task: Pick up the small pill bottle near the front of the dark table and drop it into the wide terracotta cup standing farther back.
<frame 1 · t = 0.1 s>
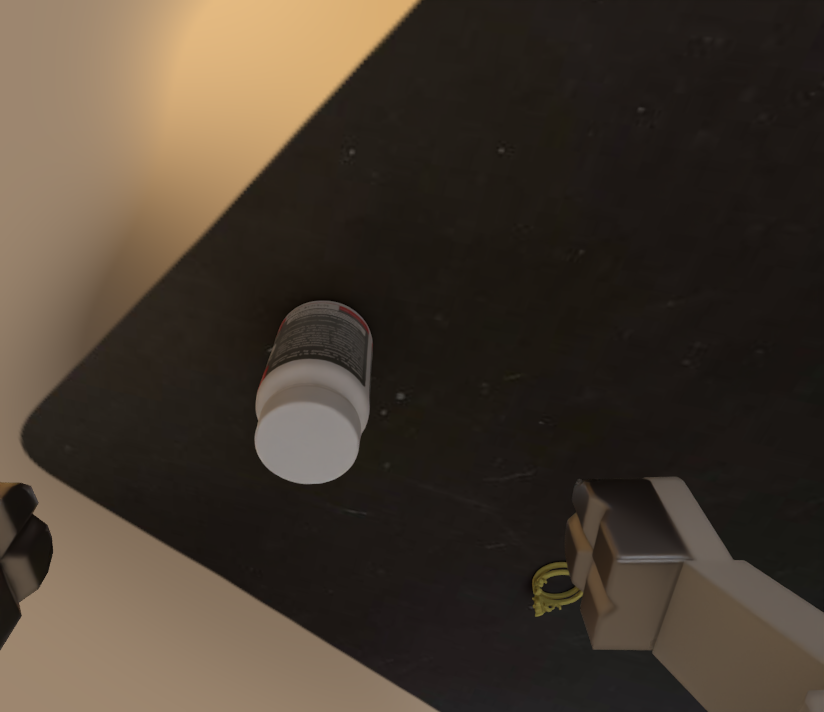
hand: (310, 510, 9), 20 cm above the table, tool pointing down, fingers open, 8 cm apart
pill bottle: (326, 338, 30), on the table
ring: (553, 578, 40), on the table
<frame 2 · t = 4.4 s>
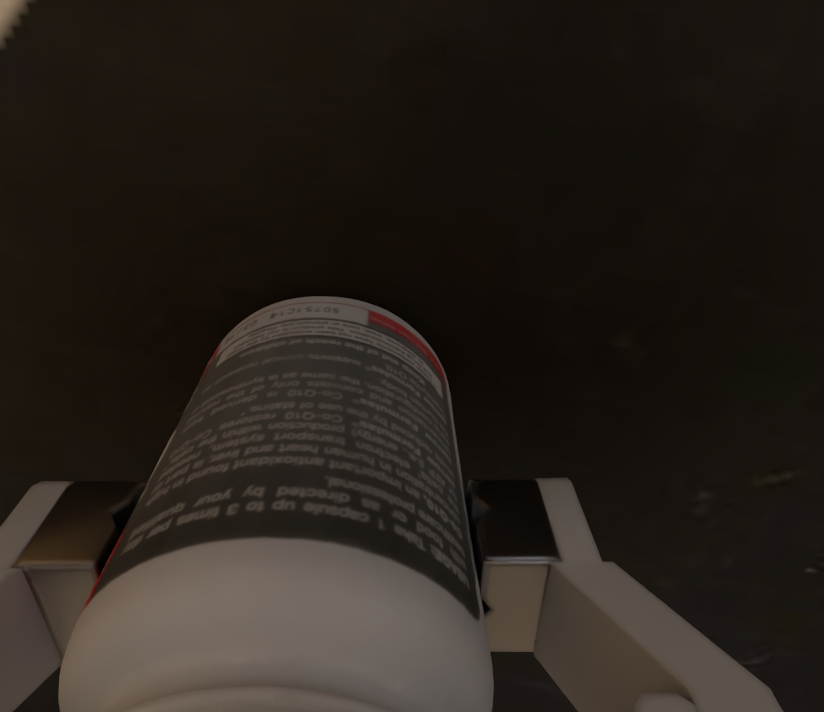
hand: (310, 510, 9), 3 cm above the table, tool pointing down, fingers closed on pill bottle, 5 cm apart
pill bottle: (331, 393, 12), on the table, touching gripper
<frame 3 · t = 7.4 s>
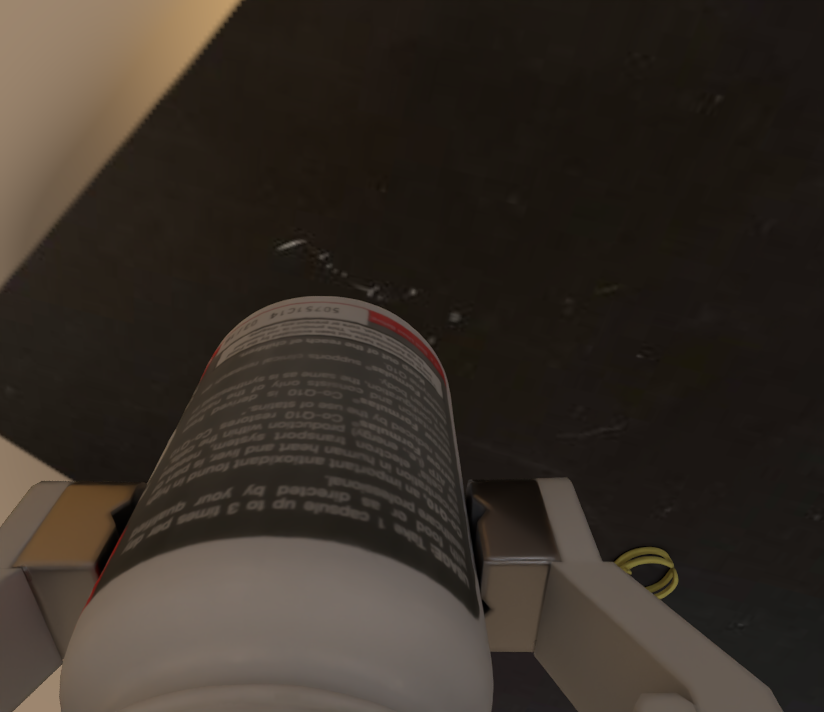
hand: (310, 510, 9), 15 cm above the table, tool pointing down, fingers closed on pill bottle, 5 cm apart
pill bottle: (331, 393, 12), point 11 cm above the table, touching gripper
ring: (635, 568, 31), on the table
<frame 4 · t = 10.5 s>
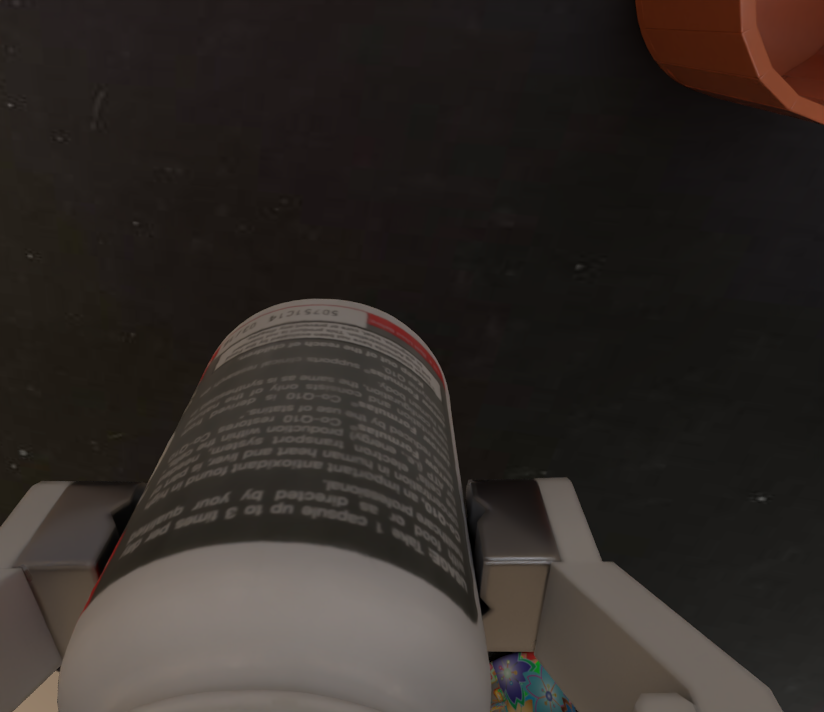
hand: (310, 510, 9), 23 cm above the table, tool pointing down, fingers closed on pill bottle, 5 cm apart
mug: (511, 666, 49), on the table
pill bottle: (330, 395, 12), point 20 cm above the table, touching gripper
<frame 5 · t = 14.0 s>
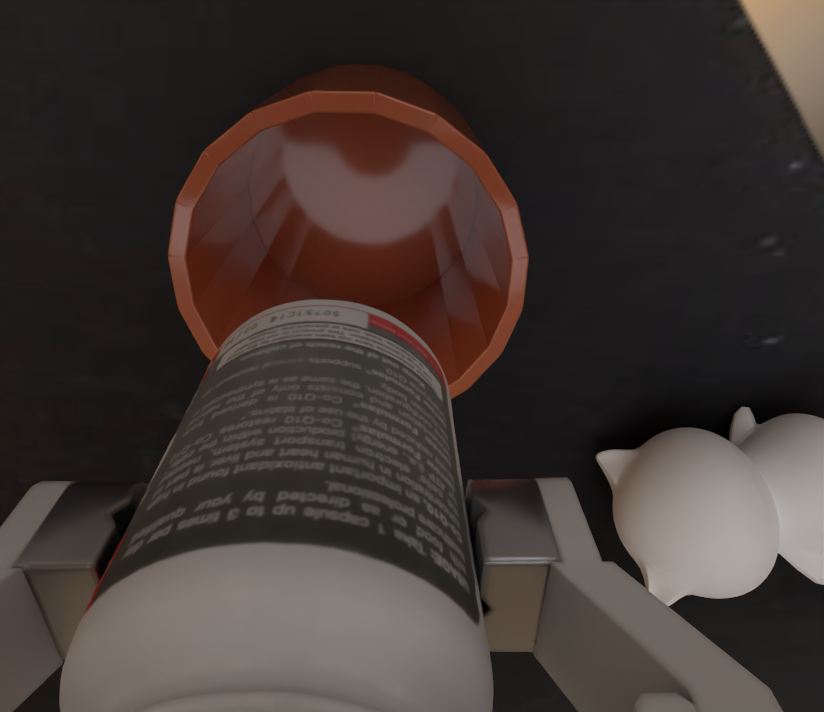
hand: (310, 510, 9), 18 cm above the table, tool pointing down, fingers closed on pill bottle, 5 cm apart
cup: (364, 197, 25), on the table
pill bottle: (331, 395, 12), point 15 cm above the table, touching gripper
cat figurine: (704, 458, 32), on the table
when the fingers open (10 cm above the table, at t = 16.8 s): pill bottle drops 6 cm, resting on cup.
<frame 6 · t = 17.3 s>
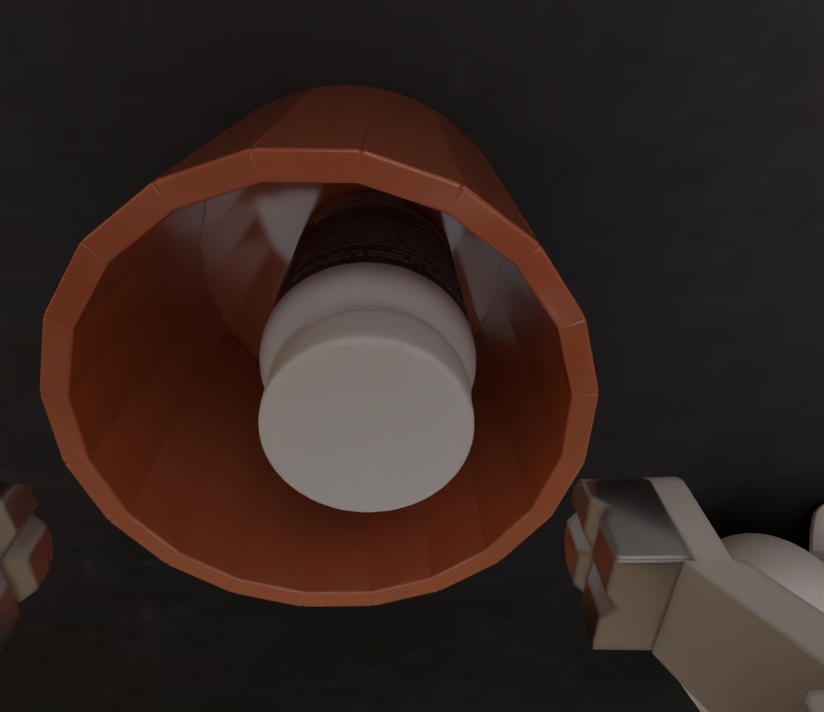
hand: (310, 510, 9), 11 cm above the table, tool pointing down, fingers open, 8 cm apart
cup: (353, 257, 19), on the table
pill bottle: (374, 264, 18), point 1 cm above the table, touching cup
cat figurine: (771, 558, 27), on the table
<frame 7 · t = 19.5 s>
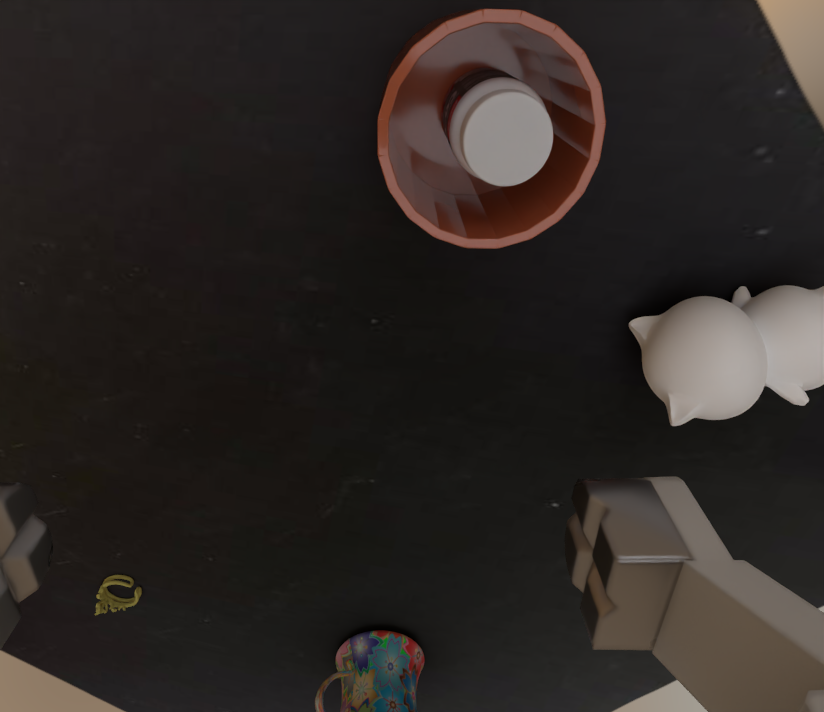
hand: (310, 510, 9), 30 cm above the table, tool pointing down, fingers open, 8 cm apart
cup: (469, 112, 34), on the table
mug: (370, 643, 58), on the table
pill bottle: (482, 113, 34), point 1 cm above the table, touching cup
cat figurine: (710, 332, 42), on the table
ring: (121, 586, 53), on the table
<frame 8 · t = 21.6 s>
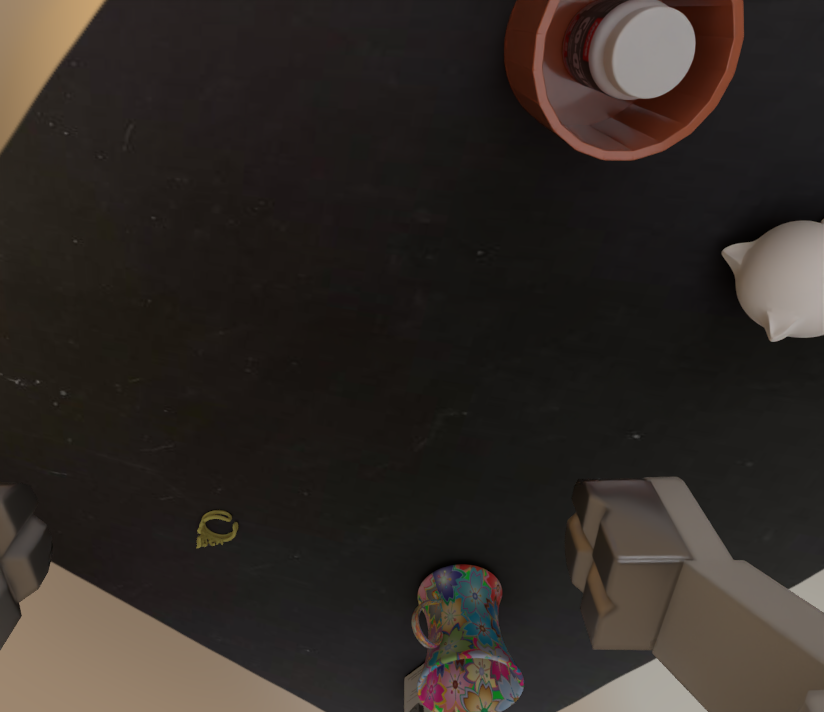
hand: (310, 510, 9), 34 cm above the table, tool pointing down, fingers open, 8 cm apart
cup: (585, 44, 37), on the table
mug: (450, 578, 61), on the table
pill bottle: (599, 44, 36), point 1 cm above the table, touching cup
ink box: (443, 679, 69), on the table
cat figurine: (795, 261, 44), on the table
ring: (218, 522, 56), on the table
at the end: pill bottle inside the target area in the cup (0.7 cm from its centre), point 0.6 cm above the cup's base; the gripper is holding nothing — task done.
